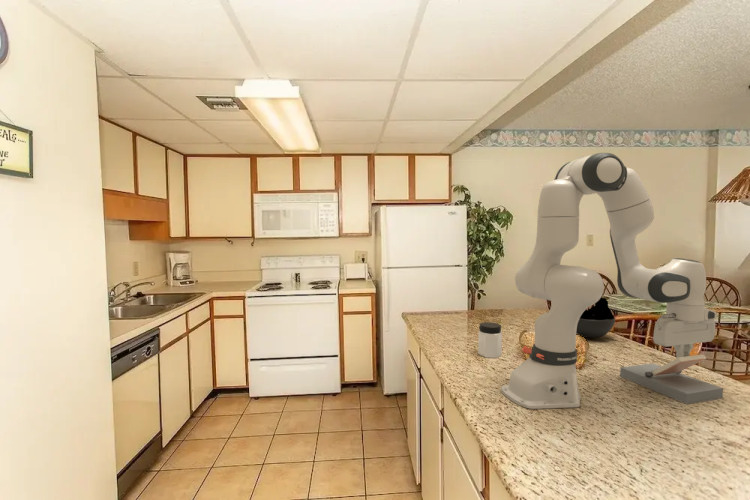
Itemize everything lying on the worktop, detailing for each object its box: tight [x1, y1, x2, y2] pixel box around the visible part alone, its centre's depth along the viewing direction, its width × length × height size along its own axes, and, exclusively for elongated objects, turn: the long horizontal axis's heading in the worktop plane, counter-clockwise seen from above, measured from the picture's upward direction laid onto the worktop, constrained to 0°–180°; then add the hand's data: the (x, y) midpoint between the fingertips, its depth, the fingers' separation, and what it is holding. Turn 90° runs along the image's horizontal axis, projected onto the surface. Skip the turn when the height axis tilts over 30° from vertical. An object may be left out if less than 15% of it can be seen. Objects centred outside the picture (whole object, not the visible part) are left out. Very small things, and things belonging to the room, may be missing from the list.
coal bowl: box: [576, 297, 616, 339], centre depth 171 cm, size 20×20×19 cm
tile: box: [652, 353, 707, 376], centre depth 114 cm, size 10×11×1 cm
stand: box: [619, 363, 724, 405], centre depth 117 cm, size 14×21×5 cm, turn 15°
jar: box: [477, 321, 503, 359], centre depth 147 cm, size 9×8×12 cm
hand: (682, 357), depth 113 cm, fingers closed, pressing on tile
